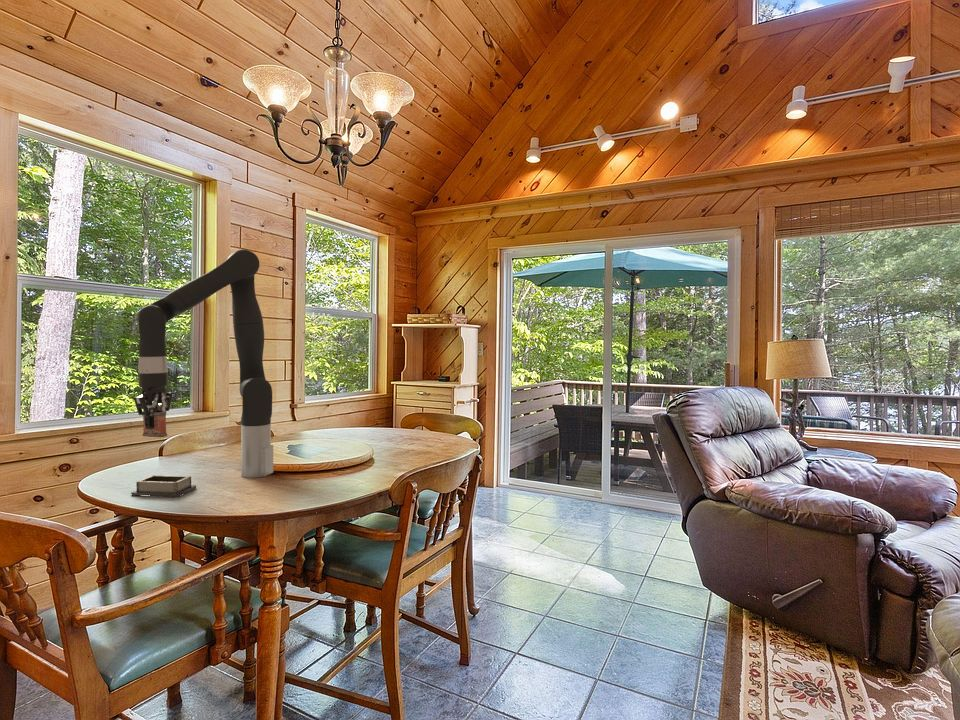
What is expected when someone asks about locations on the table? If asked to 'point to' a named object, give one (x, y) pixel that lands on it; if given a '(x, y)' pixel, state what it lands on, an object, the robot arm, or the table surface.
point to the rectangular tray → (164, 486)
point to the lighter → (156, 423)
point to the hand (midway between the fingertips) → (154, 427)
